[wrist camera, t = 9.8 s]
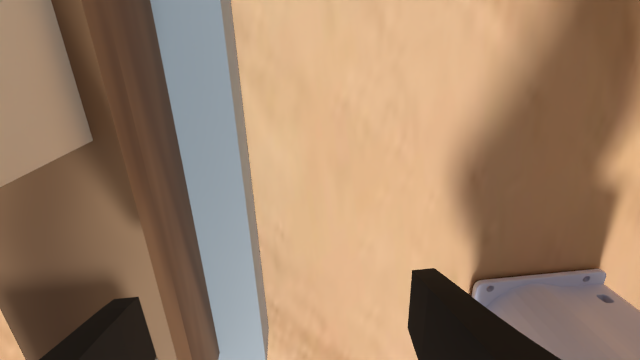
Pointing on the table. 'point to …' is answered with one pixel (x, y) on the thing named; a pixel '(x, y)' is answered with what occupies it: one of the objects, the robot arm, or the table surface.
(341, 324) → the table surface
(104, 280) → the tan open box
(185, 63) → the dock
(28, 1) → the block
